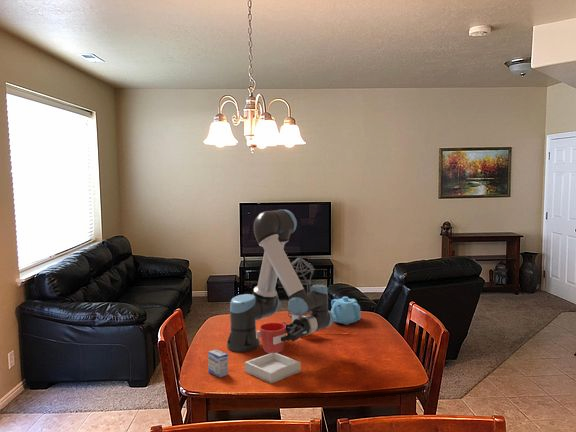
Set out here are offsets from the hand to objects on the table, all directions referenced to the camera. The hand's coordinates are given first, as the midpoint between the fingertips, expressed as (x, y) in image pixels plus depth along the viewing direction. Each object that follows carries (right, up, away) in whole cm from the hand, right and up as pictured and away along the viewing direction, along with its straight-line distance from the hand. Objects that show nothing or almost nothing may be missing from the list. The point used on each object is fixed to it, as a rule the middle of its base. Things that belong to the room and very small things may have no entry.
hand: (265, 338), depth 194 cm
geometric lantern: (+16, -9, +71) cm, 73 cm away
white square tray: (+3, -15, +5) cm, 16 cm away
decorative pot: (+40, -9, +70) cm, 82 cm away
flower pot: (+3, -6, +4) cm, 8 cm away
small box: (+16, -11, +50) cm, 53 cm away
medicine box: (-19, -15, +4) cm, 25 cm away
